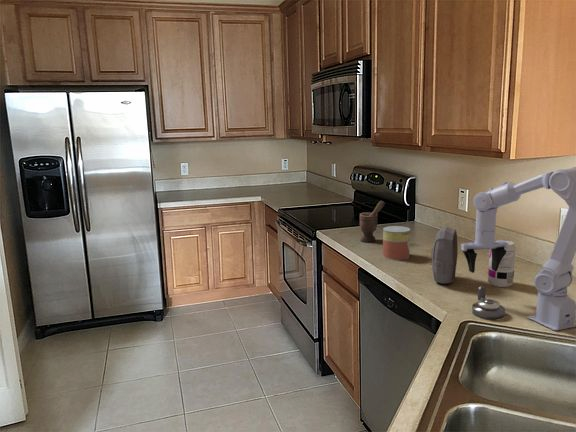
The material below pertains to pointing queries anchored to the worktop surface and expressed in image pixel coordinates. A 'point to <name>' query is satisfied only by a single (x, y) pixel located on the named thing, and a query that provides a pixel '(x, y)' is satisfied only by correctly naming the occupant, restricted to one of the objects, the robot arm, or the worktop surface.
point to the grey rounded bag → (444, 255)
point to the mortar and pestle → (369, 223)
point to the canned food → (396, 242)
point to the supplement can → (503, 268)
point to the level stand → (488, 312)
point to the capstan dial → (486, 300)
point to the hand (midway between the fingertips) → (483, 271)
